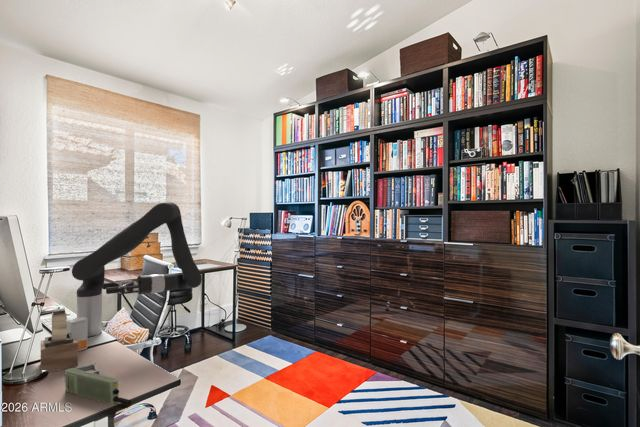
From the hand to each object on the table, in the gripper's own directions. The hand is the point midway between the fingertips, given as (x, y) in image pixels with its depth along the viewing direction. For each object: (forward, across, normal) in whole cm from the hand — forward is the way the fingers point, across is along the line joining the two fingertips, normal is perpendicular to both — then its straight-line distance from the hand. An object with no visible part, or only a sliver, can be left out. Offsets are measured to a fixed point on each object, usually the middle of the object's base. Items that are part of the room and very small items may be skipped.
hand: (104, 288), depth 131 cm
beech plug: (+13, +1, +17) cm, 22 cm away
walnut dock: (+13, +1, +25) cm, 28 cm away
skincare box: (+7, -10, +25) cm, 28 cm away
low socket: (+7, +15, +24) cm, 30 cm away
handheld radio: (+6, +35, +24) cm, 43 cm away
